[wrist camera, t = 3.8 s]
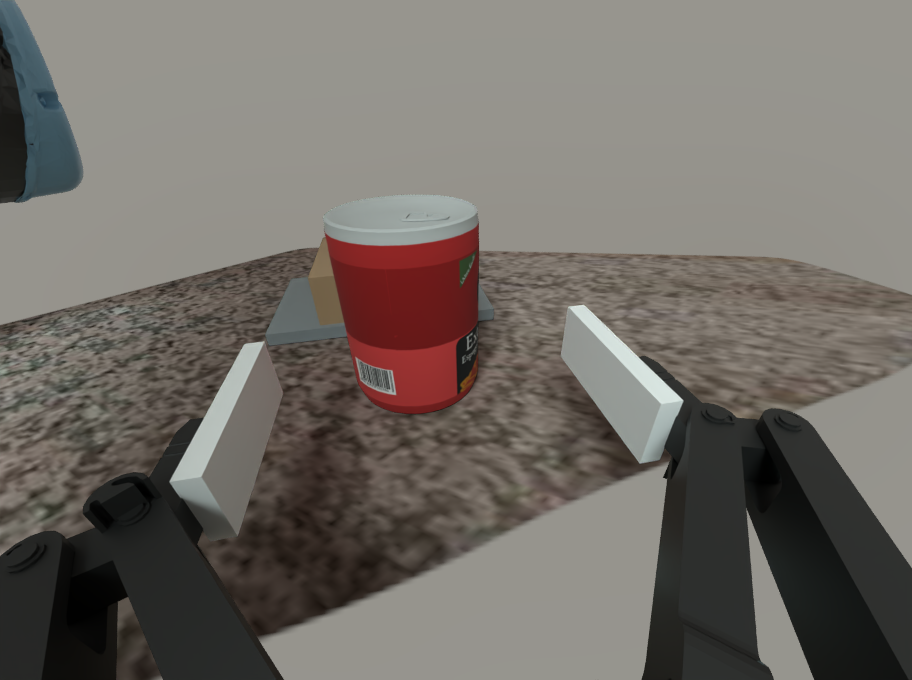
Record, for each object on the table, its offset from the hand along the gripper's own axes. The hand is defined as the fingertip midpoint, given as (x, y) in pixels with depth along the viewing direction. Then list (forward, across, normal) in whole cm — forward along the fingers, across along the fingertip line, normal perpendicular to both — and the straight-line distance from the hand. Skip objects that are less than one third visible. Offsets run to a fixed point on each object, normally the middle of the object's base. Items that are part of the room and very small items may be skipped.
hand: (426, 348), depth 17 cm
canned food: (+6, 0, -7) cm, 9 cm away
